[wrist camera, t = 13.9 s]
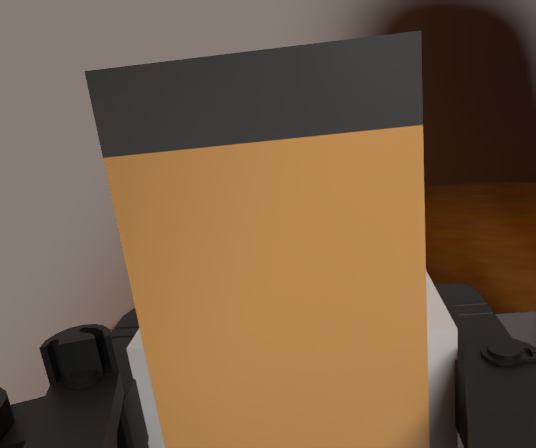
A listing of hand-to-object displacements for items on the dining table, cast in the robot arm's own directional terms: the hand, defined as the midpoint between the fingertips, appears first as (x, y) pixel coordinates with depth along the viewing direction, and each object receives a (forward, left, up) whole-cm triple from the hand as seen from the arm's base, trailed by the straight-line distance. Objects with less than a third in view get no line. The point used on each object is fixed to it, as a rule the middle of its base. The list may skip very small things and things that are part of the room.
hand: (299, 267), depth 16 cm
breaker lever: (+5, +1, -7) cm, 9 cm away
